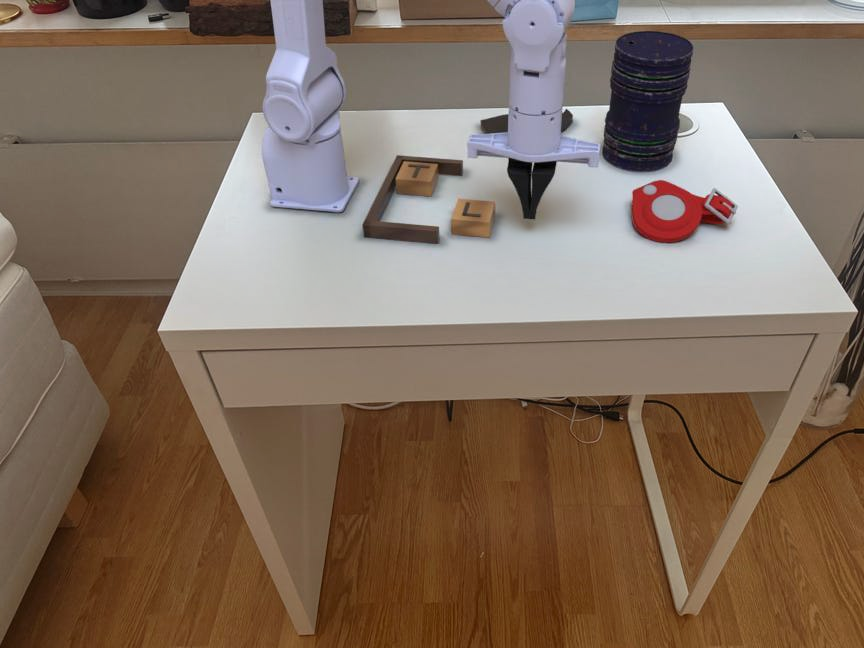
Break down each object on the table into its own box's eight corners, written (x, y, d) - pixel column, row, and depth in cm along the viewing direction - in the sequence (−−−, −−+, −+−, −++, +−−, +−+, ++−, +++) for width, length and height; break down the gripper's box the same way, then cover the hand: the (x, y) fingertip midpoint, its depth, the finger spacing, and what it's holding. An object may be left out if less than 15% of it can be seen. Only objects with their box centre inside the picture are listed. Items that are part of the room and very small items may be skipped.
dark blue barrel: (675, 142, 105) (696, 34, 94) (671, 176, 98) (693, 63, 87) (605, 134, 106) (618, 27, 96) (596, 167, 100) (609, 56, 89)
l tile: (451, 234, 88) (451, 218, 86) (458, 213, 91) (458, 197, 90) (489, 237, 87) (489, 221, 86) (495, 216, 91) (495, 200, 89)
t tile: (396, 193, 95) (395, 177, 93) (404, 176, 98) (403, 160, 96) (431, 196, 94) (430, 180, 93) (438, 178, 97) (438, 163, 96)
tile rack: (363, 237, 88) (362, 224, 86) (397, 167, 100) (396, 154, 98) (438, 244, 86) (437, 231, 85) (463, 172, 99) (463, 160, 97)
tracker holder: (657, 245, 84) (613, 187, 89) (653, 268, 88) (612, 211, 93) (749, 203, 85) (701, 148, 90) (741, 227, 89) (695, 173, 94)
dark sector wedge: (585, 138, 106) (586, 127, 105) (495, 151, 103) (495, 140, 102) (563, 113, 112) (564, 102, 110) (478, 125, 109) (478, 114, 107)
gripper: (606, 92, 80) (593, 202, 89) (474, 84, 81) (475, 192, 91) (603, 121, 75) (590, 234, 84) (463, 112, 76) (465, 223, 86)
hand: (530, 214), depth 87 cm, fingers closed
